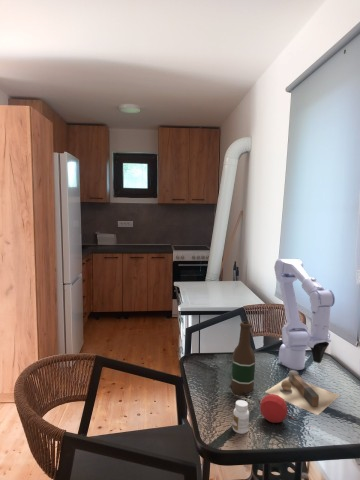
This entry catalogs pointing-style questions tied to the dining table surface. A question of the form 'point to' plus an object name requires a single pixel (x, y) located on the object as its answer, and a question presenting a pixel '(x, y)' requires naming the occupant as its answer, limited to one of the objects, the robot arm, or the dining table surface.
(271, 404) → the red round piece
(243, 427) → the pill bottle
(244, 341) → the beer bottle
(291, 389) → the board
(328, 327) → the robot arm
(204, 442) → the dining table surface
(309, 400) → the lever
